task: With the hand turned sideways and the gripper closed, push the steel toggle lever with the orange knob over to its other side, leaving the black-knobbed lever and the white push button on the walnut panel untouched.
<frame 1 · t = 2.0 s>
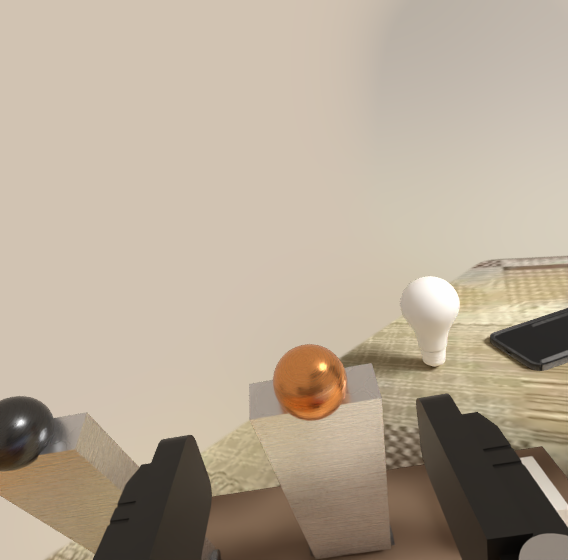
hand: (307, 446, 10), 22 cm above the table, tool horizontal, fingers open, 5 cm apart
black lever: (115, 513, 22), point 12 cm above the table, hinge at -20.0°
phone: (564, 340, 48), on the table
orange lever: (335, 480, 21), point 12 cm above the table, hinge at -20.0°
white button: (517, 502, 26), point 4 cm above the table, slide at 0.0 cm
lightbulb: (434, 366, 48), on the table
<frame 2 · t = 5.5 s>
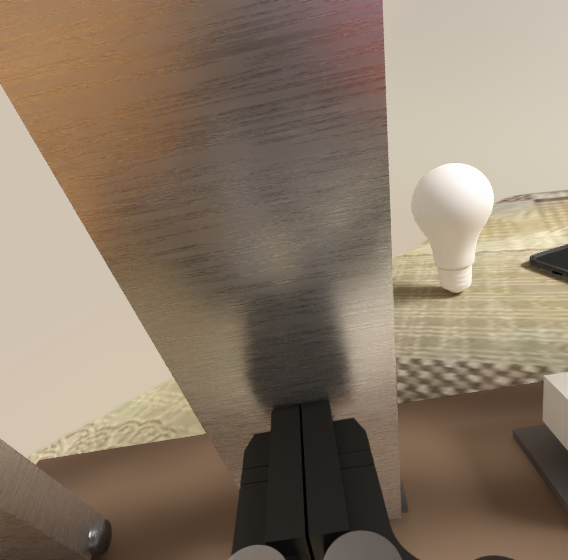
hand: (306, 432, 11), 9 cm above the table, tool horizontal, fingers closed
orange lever: (280, 332, 10), point 12 cm above the table, hinge at -17.9°, touching gripper
lightbulb: (456, 293, 36), on the table
walnut panel: (341, 554, 17), on the table
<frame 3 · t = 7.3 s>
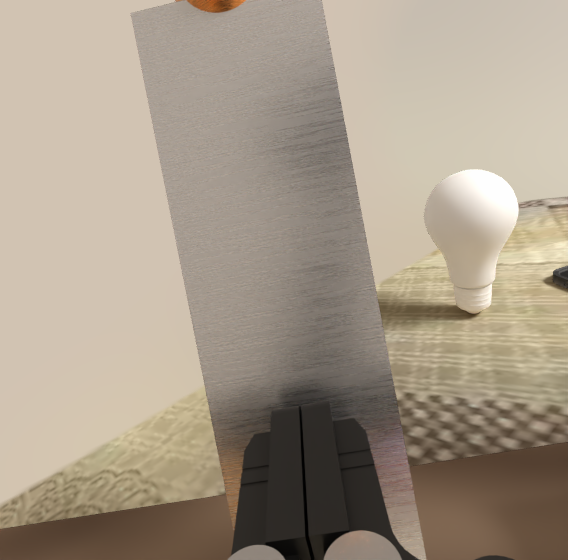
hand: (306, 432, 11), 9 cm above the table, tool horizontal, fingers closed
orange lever: (283, 298, 12), point 12 cm above the table, hinge at 19.2°
lightbulb: (473, 314, 32), on the table
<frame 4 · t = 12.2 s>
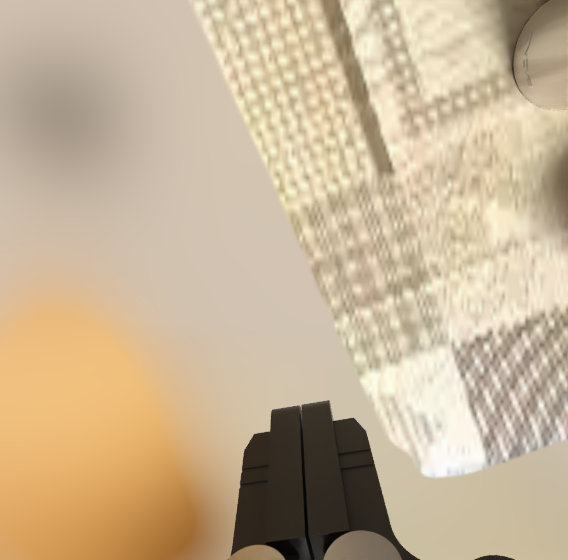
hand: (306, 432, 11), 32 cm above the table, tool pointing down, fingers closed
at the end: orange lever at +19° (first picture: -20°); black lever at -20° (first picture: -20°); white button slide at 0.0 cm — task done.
